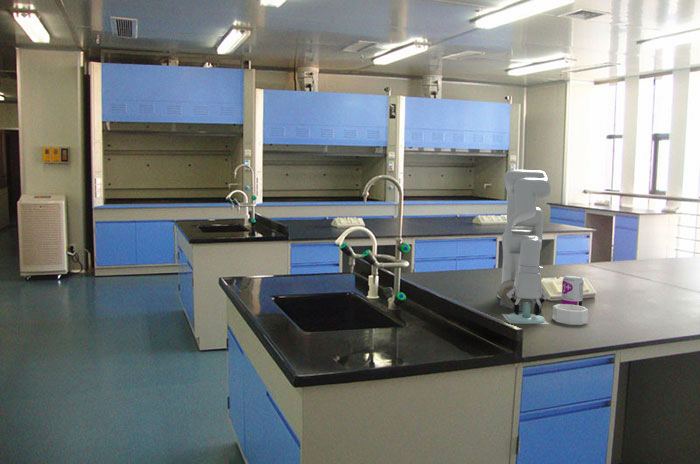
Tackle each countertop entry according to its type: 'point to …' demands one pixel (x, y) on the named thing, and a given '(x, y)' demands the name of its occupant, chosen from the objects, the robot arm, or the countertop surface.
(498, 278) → the countertop surface
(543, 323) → the mat
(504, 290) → the fossil rock
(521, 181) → the robot arm
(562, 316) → the bowl
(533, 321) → the lid
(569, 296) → the supplement can
